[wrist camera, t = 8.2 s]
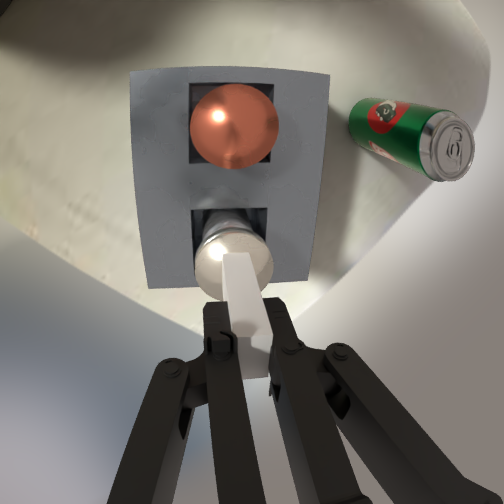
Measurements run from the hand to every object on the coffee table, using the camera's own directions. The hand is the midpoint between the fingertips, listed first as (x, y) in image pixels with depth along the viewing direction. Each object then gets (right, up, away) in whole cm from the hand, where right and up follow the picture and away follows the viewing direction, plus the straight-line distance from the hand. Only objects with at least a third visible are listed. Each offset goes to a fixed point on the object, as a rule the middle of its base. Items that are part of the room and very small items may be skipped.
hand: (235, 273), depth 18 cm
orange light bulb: (-1, +12, +4) cm, 12 cm away
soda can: (+12, +14, +8) cm, 20 cm away
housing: (-2, +9, +8) cm, 12 cm away
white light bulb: (-1, +4, +7) cm, 8 cm away
